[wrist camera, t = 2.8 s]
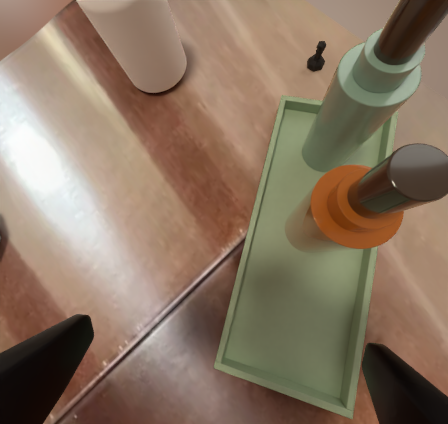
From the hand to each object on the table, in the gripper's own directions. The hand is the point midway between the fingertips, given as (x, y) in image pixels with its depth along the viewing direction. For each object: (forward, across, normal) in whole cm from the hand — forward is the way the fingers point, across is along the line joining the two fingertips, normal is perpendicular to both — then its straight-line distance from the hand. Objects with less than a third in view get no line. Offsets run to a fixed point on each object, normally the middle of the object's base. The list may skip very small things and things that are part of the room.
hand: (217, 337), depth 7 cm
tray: (+18, -7, +3) cm, 19 cm away
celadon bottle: (+22, -9, -5) cm, 24 cm away
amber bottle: (+17, -7, +3) cm, 19 cm away
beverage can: (+28, +12, -16) cm, 35 cm away
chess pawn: (+28, -8, -15) cm, 33 cm away
